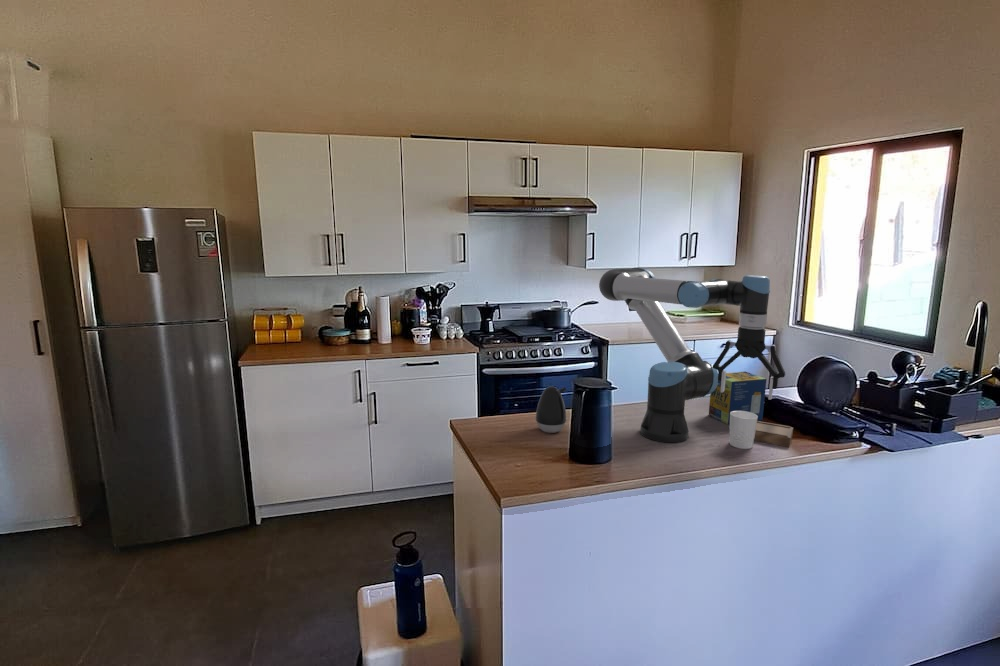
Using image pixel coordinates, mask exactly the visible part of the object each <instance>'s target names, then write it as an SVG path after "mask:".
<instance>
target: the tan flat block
mask: <svg viewBox="0 0 1000 666" xmlns="http://www.w3.org/2000/svg"><path fill="white" fill-rule="evenodd" d="M793 433H794V427H792V426H790V425H784V424H778V423H772V422H766V421H762V420H760V421H757V425H756V432H755V437H754V441H755V442H761V443H766V444H767V443H768V444H771V445H777V446H782V447H787V448H790V445H791V442H792V440H793Z"/></svg>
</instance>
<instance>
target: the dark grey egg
mask: <svg viewBox="0 0 1000 666" xmlns="http://www.w3.org/2000/svg"><path fill="white" fill-rule="evenodd" d="M566 390H567V388H566V387H562V388H560V389H558V388H557V387H555V386H552V385H550V386H547V387H545V388H544V390H543V391H542V393H541V396H540V398H539V400H538V403H537V407H536V411H535V421H536V424H537V427H538V428H539V429H540V430H541V431H542V432H544V433H548V434H554V433H558V432H560V431H562V430H563V428H564V427H565V426H566V425H565V424H566V422H567V412H566V406H565V401H564V399H563V396H562V393H564V392H566Z"/></svg>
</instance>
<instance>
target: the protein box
mask: <svg viewBox="0 0 1000 666" xmlns="http://www.w3.org/2000/svg"><path fill="white" fill-rule="evenodd" d="M766 386H767V378H765V377H762V376H760V375H756V374H754V373H751V372H749V371H737V372H726V379H725V391H724V392H723V393H722V392H720V391H721V381H718V385H717V387H716V389H715V390H714V391H713V392H712V393H711V394H709V407H708V416H709V417H712V418H714V419H717V420H719V421H721V422H722V423H725V424H726V425H730V412H732V411H747V412H751V413H754V414H756V415H757V416H758V418H757V421H763V418H764V407H765V398H766V397H765V395H766V389H767V387H766Z"/></svg>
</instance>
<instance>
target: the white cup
mask: <svg viewBox="0 0 1000 666" xmlns="http://www.w3.org/2000/svg"><path fill="white" fill-rule="evenodd" d="M757 418H758V416H757V415H756V414H754V413H751V412H747V411H732V412H730V424H729V428H728V429H729V442H728V443H729V445H730V446H732V447H734V448H737V449H740V450H748V449H749V450H750V449H752V448H754V447H753V446H754V441H755V440H754V437H755V432H756V425H757Z"/></svg>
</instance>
